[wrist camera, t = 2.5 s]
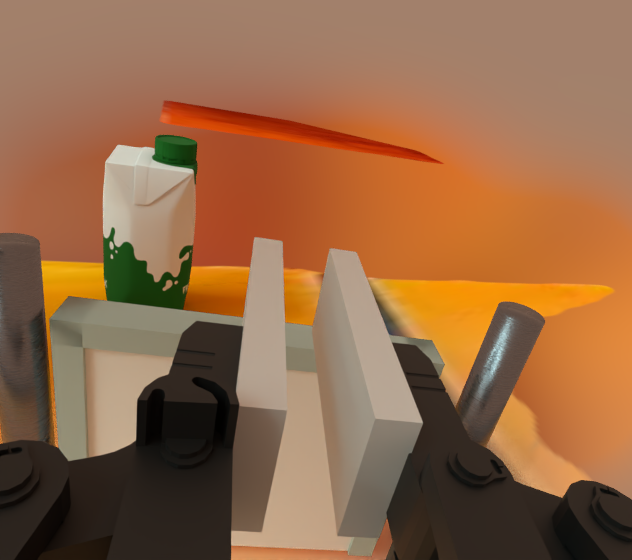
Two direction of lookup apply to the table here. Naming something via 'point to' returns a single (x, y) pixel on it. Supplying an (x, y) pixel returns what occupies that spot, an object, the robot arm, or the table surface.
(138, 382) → the beige framed panel
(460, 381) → the table surface
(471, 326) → the table surface
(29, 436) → the posts
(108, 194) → the milk carton
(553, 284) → the table surface
